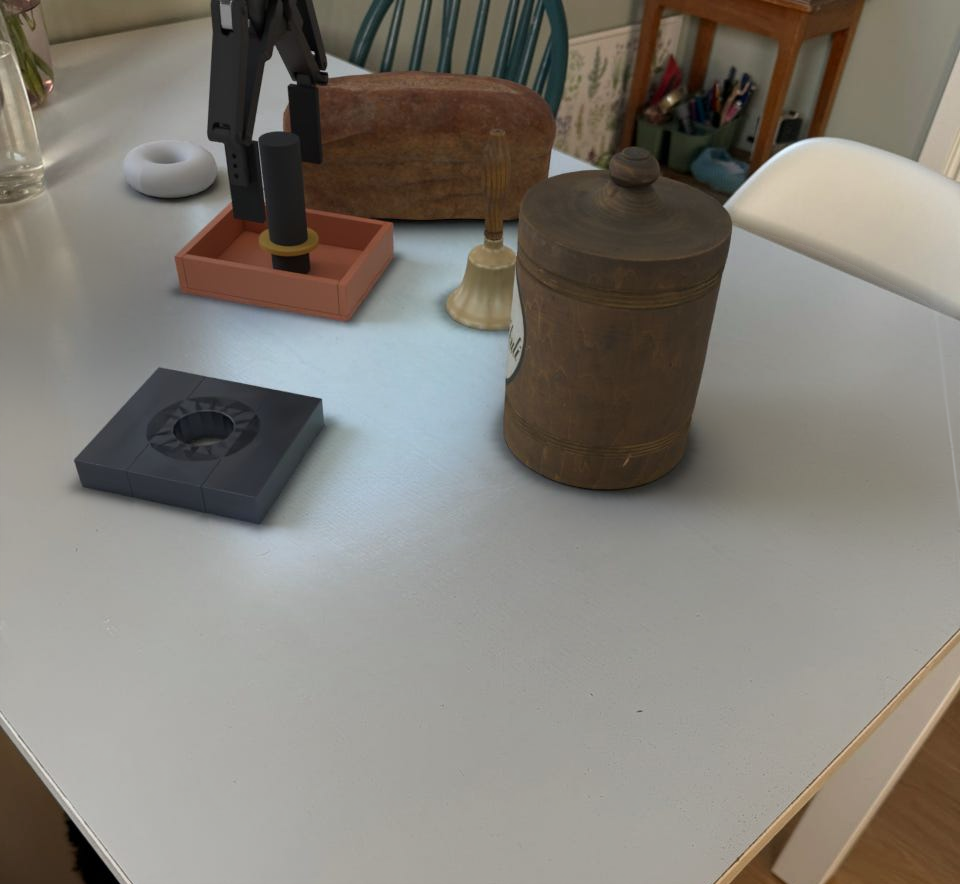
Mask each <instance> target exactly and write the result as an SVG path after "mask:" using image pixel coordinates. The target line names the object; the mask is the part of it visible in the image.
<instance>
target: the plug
mask: <svg viewBox="0 0 960 884" xmlns="http://www.w3.org/2000/svg"><path fill="white" fill-rule="evenodd" d="M257 141H258V145H259V154H260V164H261V173H262V183H263V192H264V202H265V203H266V212H267V221H268V229H267V230H265V231H263V232H262V233H261V234H260V236H259V245H260V247H261V248H262V249H263V250H264V251H266V252H268V253H270V254H271V256H272V265H273V269H276V270H282V271H287V272H293V273H299V274H307V273H308V272H309V271H310V256H309V252H311V251H313V250H314V249H316V248H317V246H318V244H319V237H318V235H317V233H316V232H315V231H313V230H312V229H310V228H307V220H306V209H305V197H304V185H303V173H302V161H301V149H300V139H299V137H298V136H297V135H296V134H293V133H290V132H284V131H283V130H277V131H268V132H265V133H263V134H261V135H259V137H258V139H257Z"/></svg>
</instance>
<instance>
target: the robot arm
mask: <svg viewBox="0 0 960 884" xmlns="http://www.w3.org/2000/svg"><path fill="white" fill-rule="evenodd" d="M316 13H317V12H316V10H315V6H314V2H313V0H210V16H211V28H212V29H211V30H212V37H211V56H210V73H209V75H210V76H209V88H208V89H209V91H208V107H207V125H206V136H207V138H208V141H209V142H213V143H220V144H223V147H224V154H225V161H226V169H227V170H226V171H227V176H228V184H229V191H230V198H231V199H230V200H231V202H232V208H233V216H234V218H235V219H240V220H246V221H252V222H258V223H264V222H265V221H266V211H265V195H264V186H263V177H262V168H261V159H260V151H259V142H258V140H254V139H253V135H254V132H255V131H254V130H255V124H256V120H257V113H258V108H259V100H260V95H261V89H262V84H263V83H262V82H263V77H264V72H265V65H266V62H268V61H269V60H272V57H273V54H274V47H275V48H276V50H277V52H278V54H279V56H280V58H281V60H282V62H283V64H284V66H285V68H286V70H287V72H288V75H289V77H290V78H291V81H292V82H296V83H289V84H288V85H287V98H288V99H287V100H288V103H289V112H290V124H291V133H293V134H296V135H297V136H298V137H299V139H300V149H301V161H302V162H308V163H314V164H321V163H322V162H323V157H322V140H321V124H320V108H319V91H318V88H317V87H316V85H322V86H327V84H328V79H329V78H330V77H329V72H328V71H326V70H327V68H328V58H327V55H326V50H325V46H324V42H323V38H322V34H321V29H320V26H319V21H318V18H317V14H316ZM313 53H314V54H313Z"/></svg>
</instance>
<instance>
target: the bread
mask: <svg viewBox="0 0 960 884" xmlns="http://www.w3.org/2000/svg"><path fill="white" fill-rule="evenodd" d="M316 87H317V88H318V91H319V108H320V124H321V140H322V157H323V162H322V163H321V164H314V163H308V162H302V173H303V185H304V197H305V208H306V209H312V210H318V211H324V212H330V213H337V214H343V215H349V216H355V217H361V218H367V219H395V220H398V219H399V220H416V221H427V220H428V221H429V220H430V221H432V220H445V219H451V220H452V219H468V220H469V219H470V220H475V219H476V220H485V217H486V204H485V199H484V195H483V191H482V184H481V163H482V158H483V154H484V151H485V148H486V145H487V142H488V139H489V135H490V131H491V130H493V129H502V130H503V131H505V134H506V141H507V145H508V149H509V152H510V157H511V180H510V186H509V190H508V194H507V197H506V199H505V203H504V208H503V221H512V220H519V214H520V206H521V201H522V199H523V197H524V195H525V194H526V192H527V191H528V190H529V189H530V188H531V187H533V186H534V185H536V184H537V183H539V182H541V181H543V180H545V179H547V178H549V174H550V166H551V158H552V150H553V147H554V144H555V140H556V136H557V121H556V120H555V117H554V113H553V111H552V108H551V107H550V105H549V104H548V102H547V101H546V100H545V99H544V98H543V97H542V95H541V94H540V93H539V92H537V91H536V90H534V89H532V88H530V87H528V86H526V85H524V84H522V83H518V82H516V81H512V80H509V79H505V78H500V77H495V76H490V75H489V76H488V75H476V74H466V73H450V72H439V71H438V72H437V71H425V70H399V71H384V72H383V71H382V72H373V73H363V74H351V75H343V76H334V77H329V79H328V84H327V86H322V85H316ZM282 131H284V132H290V133H291V124H290V112H289V102H288V103H287V105H286V107H285V109H284V111H283V113H282Z"/></svg>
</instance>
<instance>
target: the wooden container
mask: <svg viewBox="0 0 960 884" xmlns="http://www.w3.org/2000/svg"><path fill="white" fill-rule="evenodd" d="M732 233H733V220H732V218H731V215H730V213H729V212H728V210H727V208H725V207H724V206H723V204H722V203H720V202H719V201H718V200H717V199H716V198H714V197H713V196H711V195H709V194H708V193H706V192H704V191H703V190H700V189H698V188H696V187H694V186H692V185H689V184H687V183H684V182H681V181H678V180H675V179H672V178H669V177H665V176H662V175H661V167H660V163H659V161H658V160H657V158H656V157H655V156H654V155H653V154H651V152H650V151H649V150H648V149H645V148H644V147H641V146H628V147H625V148H623V150H622V151H619V152H617V153H615V154H613V156H612V157H611V158H610V160H609V164H608V168H607V169H584V170H583V169H582V170H574V171H569V172H565V173H564V172H563V173H560V174H556V175H553V176H550V177H548V178H547V179H545V180H543V181H541V182H539V183H537V184H536V185H534V186H533V187H531V188H530V189H529V190H528V191H527V192H526V194H525V195H524V197H523V199H522V201H521V206H520V214H519V219H518V224H517V242H516V244H517V245H516V250H517V252H516V267H515V278H514V288H513V299H512V310H511V319H510V329H509V330H508V341H507V342H508V343H507V353H506V365H505V366H506V367H505V381H504V383H505V385H504V389H505V390H504V401H503V403H504V405H503V419H502V420H503V421H502V430H503V437H504V441H505V443H506V445H507V446H508V448H509V450H510V452H511V453H512V454H513V455H514V456H515V457H516V458H517V460H519V461H520V462H521V463H523V465H525V466H526V467H528V468H529V469H531V470H532V471H534V472H536V473H538V474H539V475H541V476H544V477H546V478H548V479H550V480H552V481H554V482H555V481H556V482H558V483H561V484H565V485H570V486H572V487H573V486H574V487H576V488H584V489H593V490H621V489H629V488H635V487H638V486H642V485H645V484H648V483H651V482H654V481H656V480H658V479H660V478H661V477H663V476H665V475H666V474H667V473H669V472H671V471H672V470H673V469H674V468H675V467H676V466H677V465H678V463H679V462H680V461H681V459H682V457H683V454H684V452H685V448H686V444H687V440H688V437H689V432H690V428H691V423H692V418H693V414H694V410H695V406H696V404H697V403H696V402H697V398H698V394H699V390H700V386H701V382H702V377H703V372H704V367H705V362H706V357H707V351H708V346H709V342H710V338H711V337H710V336H711V332H712V327H713V322H714V318H715V314H716V308H717V303H718V297H719V294H720V289H721V284H722V279H723V274H724V272H725V267H726V264H727V261H728V257H729V253H730V247H731V241H732Z"/></svg>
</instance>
